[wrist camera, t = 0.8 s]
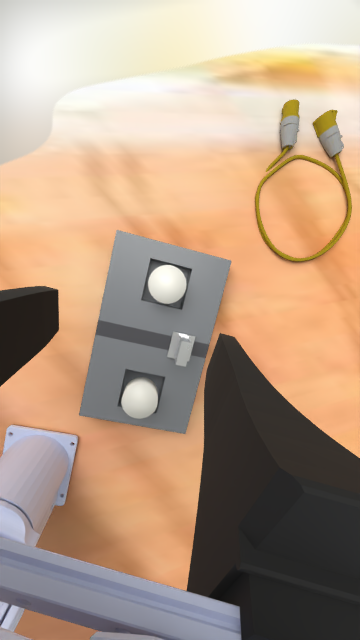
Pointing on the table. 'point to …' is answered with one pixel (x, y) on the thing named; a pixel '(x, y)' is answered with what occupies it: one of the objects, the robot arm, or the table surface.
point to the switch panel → (151, 331)
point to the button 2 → (167, 284)
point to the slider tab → (181, 348)
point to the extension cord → (332, 145)
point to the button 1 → (140, 398)
